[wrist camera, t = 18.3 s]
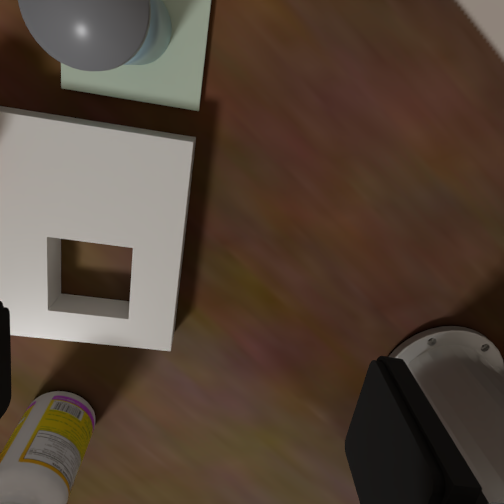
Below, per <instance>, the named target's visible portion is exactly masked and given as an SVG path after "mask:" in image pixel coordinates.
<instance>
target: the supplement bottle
mask: <svg viewBox="0 0 504 504" xmlns="http://www.w3.org/2000/svg"><path fill="white" fill-rule="evenodd" d="M94 427H95V413H94V411H93V409H92V407H91V406H90V404H89V403H88V402H87V401H86V400H84V399H83V398H82V397H80V396H78V395H76V394H73V393H70V392H65V391H54V392H49V393H45V394H43V395H41V396H39V397H37V398H36V399H35V400H34V401H33V402H32V403H31V404H30V406H29V407H28V409H27V410H26V412H25V413H24V415H23V417H22V418H21V420H20V422H19V424H18V425H17V427H16V429H15V430H14V432H13V434H12V435H11V437H10V439H9V441H8V442H7V444H6V446H5V447H4V449H3V451H2V452H1V454H0V504H66V503H67V501H68V498H69V495H70V493H71V490H72V487H73V484H74V481H75V479H76V476H77V473H78V471H79V468H80V465H81V463H82V460H83V457H84V454H85V452H86V449H87V446H88V444H89V441H90V438H91V435H92V433H93V430H94Z"/></svg>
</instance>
